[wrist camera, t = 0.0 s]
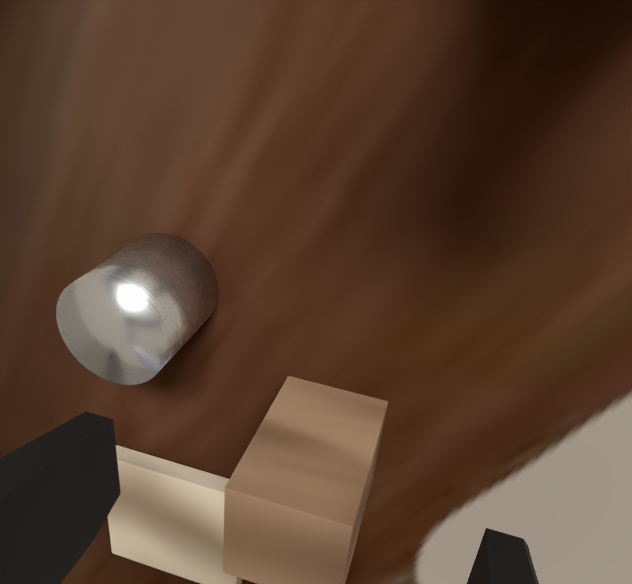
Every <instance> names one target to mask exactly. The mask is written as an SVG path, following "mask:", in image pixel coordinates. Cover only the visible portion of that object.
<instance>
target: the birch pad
mask: <svg viewBox="0 0 632 584" xmlns="http://www.w3.org/2000/svg"><path fill="white" fill-rule="evenodd" d="M116 453H117V462H118V472H119V482H120V491H121V494H120V496H119V497H118V499H117V501H116V502H115V504H114V506H113V508H112V509H111V511H110V513H109V515H108V524H109V532H110V540H111V548H112V553H113V554H116V555H119V556H122V557H125V558H128V559H131V560H134V561H137V562H139V563H142V564H145V565H148V566H151V567H154V568H157V569H160V570H163V571H165V572H168V573H171V574H174V575H177V576H180V577H183V578H186V579H189V580H192V581H194V582H197V583H200V584H242V578H239V577H236V576H233V575H230V574H227V573H224V572H223V550H224V499H225V486H226V485H227V483H228V481H229V479H228V478H224V477H221V476H218V475H214V474H211V473H208V472H205V471H201V470H198V469H195V468H191V467H188V466H185V465H181V464H178V463H175V462H171V461H168V460H165V459H161V458H158V457H155V456H151V455H148V454H145V453H141V452H138V451H135V450H131V449H128V448H125V447H121V446H118V445H116Z"/></svg>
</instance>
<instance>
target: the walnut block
mask: <svg viewBox="0 0 632 584" xmlns="http://www.w3.org/2000/svg"><path fill="white" fill-rule="evenodd" d="M387 405H388V401H384V400H380V399H377V398H373V397H369V396H365V395H361V394H357V393H353V392H349V391H345V390H341V389H337V388H333V387H329V386H326V385H322V384H318V383H314V382H310V381H306V380H302V379H298V378H294V377H290V376H288V377H287V379H286V381H285V382H284V384H283V386H282V388H281V389H280V391H279V393H278V395H277V397H276V398H275V400H274V402H273V404H272V405H271V407H270V409H269V411H268V412H267V414H266V416H265V418H264V419H263V421H262V423H261V425H260V426H259V428H258V430H257V432H256V434H255V435H254V437H253V439H252V441H251V442H250V444H249V446H248V448H247V449H246V451H245V453H244V455H243V456H242V458H241V460H240V462H239V463H238V465H237V467H236V469H235V471H234V472H233V474H232V476H231V478H230V479H229V481H228V483H227V485H226V486H225V499H224V550H223V572H224V573H227V574H230V575H233V576H236V577H239V578H242V579H245V580H248V581H250V582H253V583H256V584H345V582H346V579H347V575H348V571H349V567H350V564H351V560H352V556H353V553H354V549H355V545H356V541H357V538H358V534H359V530H360V526H361V523H362V519H363V515H364V511H365V508H366V504H367V500H368V496H369V493H370V489H371V485H372V481H373V478H374V473H375V467H376V462H377V457H378V452H379V447H380V442H381V436H382V431H383V426H384V421H385V416H386V411H387Z"/></svg>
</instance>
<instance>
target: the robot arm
mask: <svg viewBox="0 0 632 584" xmlns="http://www.w3.org/2000/svg"><path fill="white" fill-rule="evenodd" d="M120 494H121V491H120V482H119V472H118V462H117V453H116V443H115V434H114V424H113V419H109V418H106V417H103V416H99V415H96V414H92V413H89V412H85V413H83V414H81V415H79V416H77V417H75V418H73V419H71V420H69V421H67V422H66V423H64V424H62V425H60V426H58V427H57V428H55V429H53V430H51V431H49V432H48V433H46V434H44V435H42V436H40V437H39V438H37V439H35V440H33V441H31V442H30V443H28V444H26V445H24V446H23V447H21V448H19V449H17V450H15V451H13V452H12V453H10V454H8V455H6V456H4V457H2V458H1V459H0V584H60V583H61V582H62V581H63V579H64V578H65V577H66V576H67V574H68V573H69V572H70V570H71V569H72V568H73V566H74V565H75V564H76V562H77V561H78V560H79V558H80V557H81V556H82V554H83V553H84V552H85V550H86V549H87V548H88V546H89V545H90V544H91V542H92V541H93V539H94V538H95V536H96V534H97V533H98V531H99V530H100V528H101V526H102V525H103V523H104V521H105V520H106V518H107V516H108V515H109V513H110V511H111V509H112V508H113V506H114V504H115V502H116V501H117V499H118V497H119V496H120ZM467 584H539V583H538V580H537V577H536V573H535V570H534V566H533V563H532V559H531V556H530V552H529V548H528V545H527V544H526V542H525V541H524V539H522V538H519V537H515V536H512V535H508V534H505V533H501V532H498V531H495V530H491V529H487V528H486V530H485V533H484V536H483V539H482V541H481V544H480V547H479V550H478V553H477V556H476V559H475V562H474V565H473V567H472V570H471V573H470V576H469V579H468V582H467Z"/></svg>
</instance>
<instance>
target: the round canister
mask: <svg viewBox="0 0 632 584" xmlns="http://www.w3.org/2000/svg"><path fill="white" fill-rule="evenodd" d="M217 301H218V284H217V279H216V276H215V273H214V271H213V269H212V267H211V265H210V264H209V262H208V261H207V259H206V258H205V257H204V255H203V254H202V253H201V252H200V251H199V250H198V249H196V248H195V247H194V246H193V245H191V244H190V243H189V242H187V241H185V240H183V239H182V238H179V237H177V236H174V235H170V234H164V233H154V234H149V235H146V236H143V237H141V238H140V239H138V240H137V241H135V242H133V243H132V244H130V245H129V246H127V247H126V248H124V249H123V250H121V251H120V252H118V253H117V254H115V255H114V256H112V257H111V258H109V259H108V260H106V261H105V262H103V263H101V264H100V265H98V266H97V267H95V268H94V269H92V270H91V271H89V272H88V273H86V274H85V275H83V276H82V277H80V278H79V279H77V280H76V281H74V282H73V283H71V284H70V285H68V286H67V287H66V288H65V289H64V290H63V292H62V293H61V295H60V297H59V299H58V302H57V307H56V319H57V324H58V328H59V331H60V334H61V336H62V339H63V341H64V342H65V344H66V346H67V347H68V349H69V350H70V352H71V353H72V354H73V355H74V357H75V358H76V359H77V360H78V361H79V362H80V363H81V364H82V365H83V366H84V367H86V368H87V369H88V370H90V371H91V372H92V373H94V374H95V375H97V376H99V377H101V378H103V379H105V380H107V381H110V382H113V383H117V384H123V385H136V384H141V383H144V382H147V381H148V380H150V379H152V378H153V377H154V376H155V375H156V374H157V373H158V372H159V371H160V370H161V369H162V368H163V367H164V366H165V365H166V363H167V362H168V361H169V360H170V359H171V358H172V357H173V356H174V355H175V354H176V353H177V352H178V350H179V349H180V348H181V347H182V346H183V345H184V344H185V343H186V342H187V341H188V340H189V339H190V338H191V336H192V335H193V334H194V333H195V332H196V331H197V330H198V329H199V328H200V327H201V326H202V325H203V323H204V322H205V321H206V320H207V319H208V318H209V317H210V316H211V315H212V313H213V311H214V310H215V307H216V305H217Z"/></svg>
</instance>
